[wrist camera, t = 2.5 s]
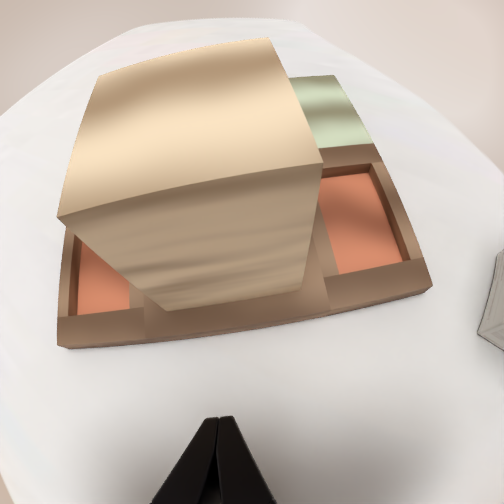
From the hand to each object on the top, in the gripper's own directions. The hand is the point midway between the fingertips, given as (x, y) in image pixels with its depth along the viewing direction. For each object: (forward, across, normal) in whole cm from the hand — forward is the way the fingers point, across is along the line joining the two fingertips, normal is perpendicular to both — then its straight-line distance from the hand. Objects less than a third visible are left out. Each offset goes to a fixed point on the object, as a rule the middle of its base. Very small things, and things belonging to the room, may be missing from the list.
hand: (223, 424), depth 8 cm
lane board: (+18, 0, -4) cm, 18 cm away
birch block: (+13, 0, -2) cm, 13 cm away
